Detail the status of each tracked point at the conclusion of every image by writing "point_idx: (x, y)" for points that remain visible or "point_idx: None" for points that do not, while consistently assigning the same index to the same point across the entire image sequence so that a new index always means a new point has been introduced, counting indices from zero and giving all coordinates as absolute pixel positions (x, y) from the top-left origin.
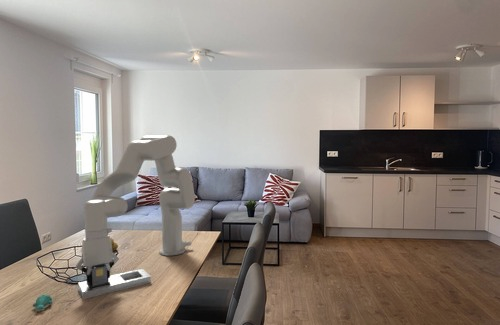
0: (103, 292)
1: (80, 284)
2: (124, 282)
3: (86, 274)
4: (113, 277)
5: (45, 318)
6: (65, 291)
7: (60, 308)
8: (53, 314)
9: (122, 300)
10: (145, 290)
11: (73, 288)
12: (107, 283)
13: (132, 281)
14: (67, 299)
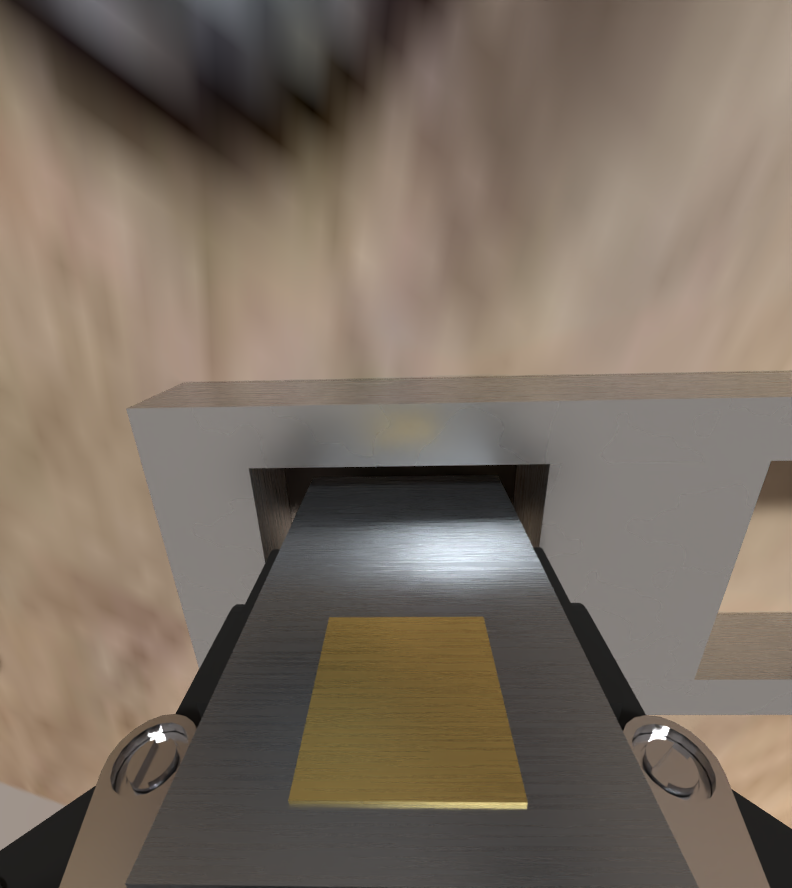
0: None
1: (169, 500)
2: (670, 711)
3: (178, 711)
4: (646, 505)
5: (6, 768)
6: (28, 358)
7: (75, 697)
8: (46, 748)
9: None
10: (746, 745)
11: (116, 313)
12: (524, 506)
13: (757, 703)
14: (100, 579)
